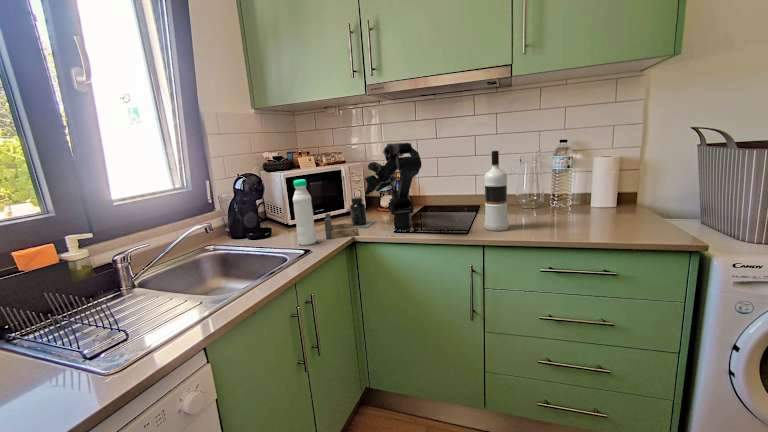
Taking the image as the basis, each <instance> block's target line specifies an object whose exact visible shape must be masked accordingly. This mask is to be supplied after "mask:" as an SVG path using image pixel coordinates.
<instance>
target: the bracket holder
mask: <svg viewBox="0 0 768 432" xmlns="http://www.w3.org/2000/svg"><path fill="white" fill-rule="evenodd" d="M324 216H325V218H324V221H323V222H324V229H325V230H324V231H325V237H326V238H325V240H331V239H338V238H349V236H350V237H357V236H358V230H357V229H358V228H356V226H354V224H353V223H350V222H346V223H345V222H343V223H334V224H333V223H332V218H331V213H330V212H329V213H325V215H324Z"/></svg>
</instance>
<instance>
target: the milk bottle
mask: <svg viewBox="0 0 768 432" xmlns="http://www.w3.org/2000/svg"><path fill="white" fill-rule="evenodd" d="M307 183H308V182H307V179H303V178H302V179H294V180H293V186H294V189H295V190H294V193H293V197H292V203H293V213H294V219H295V220H294V221H295V225H296V234H297V244H298V245H301V246H312V245H314V244H315V243H316V242H317V236H316V226H315V220H314V217H315V216H314V209H313V203H312V196H311V194H310V193H309V191H308V189H307Z"/></svg>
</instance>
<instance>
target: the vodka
mask: <svg viewBox="0 0 768 432" xmlns="http://www.w3.org/2000/svg"><path fill="white" fill-rule="evenodd" d="M499 155H500V153H499V150H492V151H491V169H489V170H488V171H487V172H485V174H484V177H483V178H484V179H483V181H484V200H485V201H484V202H485V203H484V208H485V215H484V216H485V218H484V223H483V225H484V229H485V230H487V231H491V232H502V231H506V230H508V229H509V227H510V222H509V218H508V199H507V198H508V192H507V191H508V187H507V186H508V174H507V173H506V171H504V170H502V169H501V168H500V158H499V157H500V156H499Z"/></svg>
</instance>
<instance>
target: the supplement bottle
mask: <svg viewBox="0 0 768 432" xmlns="http://www.w3.org/2000/svg"><path fill="white" fill-rule="evenodd" d="M351 203H352V204H350V207H349V210H350V220H351V221H352V223H353V224H354V225H355V226H359V225H364V224H366V221H367V212H366V204H365V203H363V197H361V196H360V197H359V196H358V197H352V198H351ZM351 221H350V222H351Z"/></svg>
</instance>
